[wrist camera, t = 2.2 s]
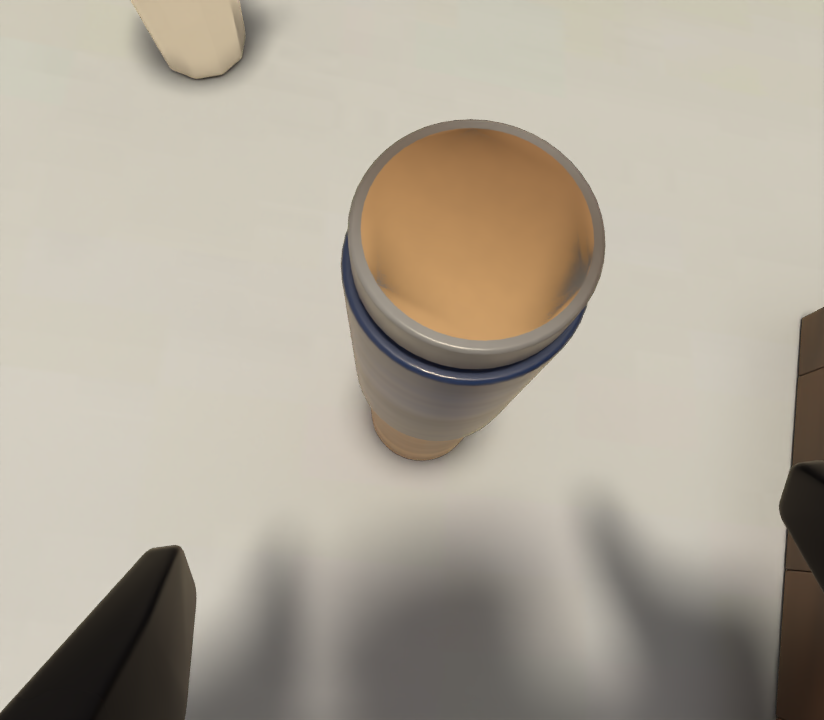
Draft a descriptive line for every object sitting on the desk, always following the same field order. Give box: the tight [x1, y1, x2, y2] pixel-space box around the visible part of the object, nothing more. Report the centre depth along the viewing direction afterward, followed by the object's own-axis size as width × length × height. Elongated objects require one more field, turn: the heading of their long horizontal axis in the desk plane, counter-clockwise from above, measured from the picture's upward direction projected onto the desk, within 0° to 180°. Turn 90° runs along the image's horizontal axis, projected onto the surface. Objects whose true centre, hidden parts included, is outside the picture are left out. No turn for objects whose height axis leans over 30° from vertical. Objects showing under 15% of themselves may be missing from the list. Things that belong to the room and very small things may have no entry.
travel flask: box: [341, 119, 605, 460], centre depth 14 cm, size 4×4×12 cm
